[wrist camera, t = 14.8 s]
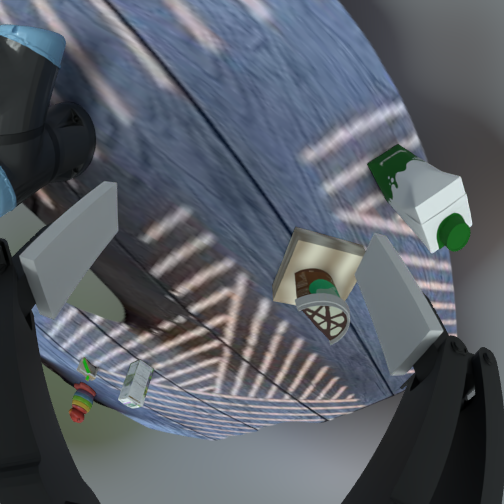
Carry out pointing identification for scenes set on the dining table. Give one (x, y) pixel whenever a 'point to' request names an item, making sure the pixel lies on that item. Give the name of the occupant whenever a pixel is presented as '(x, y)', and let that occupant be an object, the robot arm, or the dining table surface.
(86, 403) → the stacking bear
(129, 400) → the syrup box
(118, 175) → the dining table surface
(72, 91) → the dining table surface
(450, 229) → the milk carton
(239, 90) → the dining table surface
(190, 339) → the dining table surface
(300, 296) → the food container
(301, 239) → the birch riser block
